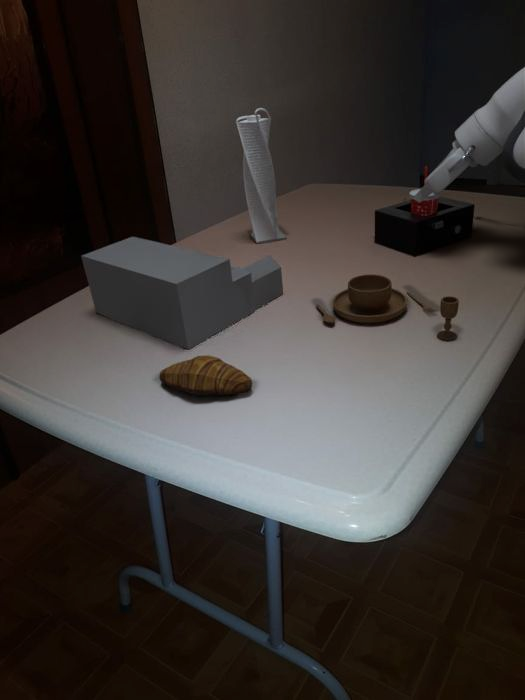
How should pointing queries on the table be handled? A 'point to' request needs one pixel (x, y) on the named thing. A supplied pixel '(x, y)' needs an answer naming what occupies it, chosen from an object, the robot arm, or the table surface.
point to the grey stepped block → (176, 289)
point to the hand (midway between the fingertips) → (422, 192)
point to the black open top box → (423, 226)
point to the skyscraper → (259, 178)
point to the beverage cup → (424, 202)
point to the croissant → (206, 377)
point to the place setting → (383, 303)
